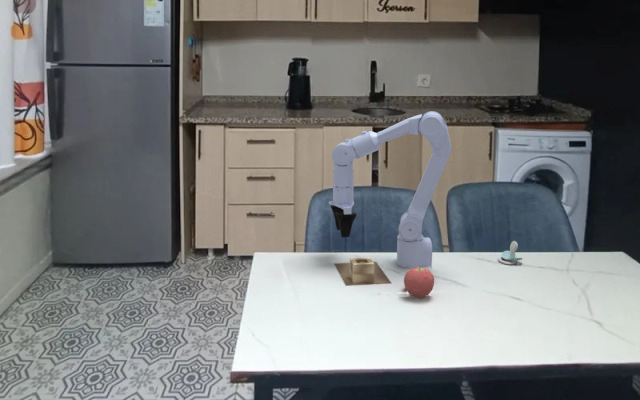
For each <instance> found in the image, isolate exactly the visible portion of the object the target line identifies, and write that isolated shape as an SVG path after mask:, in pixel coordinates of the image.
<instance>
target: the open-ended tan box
mask: <svg viewBox="0 0 640 400" xmlns="http://www.w3.org/2000/svg"><path fill="white" fill-rule="evenodd" d="M359 262H365V263H359ZM373 262H374V261H373V260H372V259H371V257H355V258H354V257H353V258H352V257H351V258H349V263H350V267H349V277H350V278H351V280H352V282H353V283H371V282H374V263H373Z"/></svg>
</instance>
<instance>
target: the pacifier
mask: <svg viewBox="0 0 640 400" xmlns="http://www.w3.org/2000/svg"><path fill="white" fill-rule="evenodd" d="M518 247H519V244H518V242H517V241H516V240H513V241H512V242H511V243H510V246H509V250H505V251H503V252H502V253H501V256H499V257H498V258H497V260H498V262H500V263H502V264H505V265H514V264H515V265H516V264H517V261H522V260H523V257H518V256H517V254H516V251H517V250H518Z"/></svg>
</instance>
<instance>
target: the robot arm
mask: <svg viewBox="0 0 640 400" xmlns="http://www.w3.org/2000/svg"><path fill="white" fill-rule="evenodd" d="M420 133H421V135H422V136H423V137H424V138H425V139H426V140H427V141H428V143H429V145H430V147H431V149H432V153H431V155H430V158H429V160H428V162H427V164H426V168H425V169H424V172H423V174H422V177H421V179H420V182H419V184H418V186H417V189H416V190H415V193H414V196H413V198H412V201H411V203H409V206H408V209H407V211H405V212H404V213H403V214H402V215H401V217H400V223H399V225H398V228H397V230H398V234H397V237H396V238H397V239H396V240H397V243H396V248H397V249H396V265H397V266H399V267H402V268H409V269H412V268H416V267H421V268H425V267H431V269H432V267H433V266H432V265H433V244H432V243H433V242H432V240H431V238H430V237H428V236H427V237H425V236H424V234H422V233H423V227H422V226H423V221H424V218H425V215H426V213H427V209H428V207H429V205H430V203H431V200H432V198H433V195H434V193H435V191H436V188H437V186H438V184H439V182H440V179H441V177H442V174H443V172H444V170H445V168H446V165H447V163H448V160H449V158H450V155H451V154H452V143H451V139H450V135H449V129H448V124H447V122H446V121H445V120H444V118H443V116H442V115H441V114H440V113H439V112H437V111H433V110H432V111H431V110H430V111H427V112H425V113H423V114H422V113H421V114H417V115H413V116H412V117H409V118H406V119H404V120H402V121H400V122H397V123H395V124H392V125H391V126H389V127H387V128H385V129H383V130H380V131H379V132H374V131H372V130H369V131H367V130H364V131H362V132H361V133H360V134H359V135H358V136H355V137H353V138H346V139H345V142H344V141H343V142H340V143H339V144H337V145H336V146H335V147H334V148H333V150H332V152H331V159H332V160H333V166H332V167H333V170H332V200H330V201H328V205H329V206H330V209H331V211H332V213H333V218H334V221H335V228H336V231H340V235H341V238H349V237H350V235H351V232H352V228H353V224H354V221H355V219H356V217H357V215H358V214H357V212H352V209H353V207H354V205H355V201H354V183H355V182H354V180H355V178H354V176H355V174H354V172H355V171H354V159H356V160H359V159H361V158H363V157H365V156H368V155H370V154H373V153H374V152H377V151H380V148H381V145H382V144H384V143H386V142H389V141H391V140H394V139H397V138H399V137H401V136H402V137H403V136H404V135H407V134H409V135H415V136H417V135H419V134H420Z"/></svg>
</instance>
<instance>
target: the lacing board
mask: <svg viewBox="0 0 640 400" xmlns="http://www.w3.org/2000/svg"><path fill="white" fill-rule="evenodd" d="M359 263H365V262H359ZM373 263H374V282H371V283H353V282H352V280H351V278H350V277H349V267H350V262H344V263H343V262H342V263H341V262H339V263H333V264H334V266H335V269H336V270H337V272H338V273H339V276H340V278H341V279H342V281H343V283H344V285H345V287H347V286H366V285H367V286H368V285H385V284H386V285H388V284H392V282H391V280H390V279H389V278H388V276H387V275H386V274H385V272H384V271H383V269H382V268H381V267H380V265H379V263H378V262H377V261H373Z"/></svg>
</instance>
